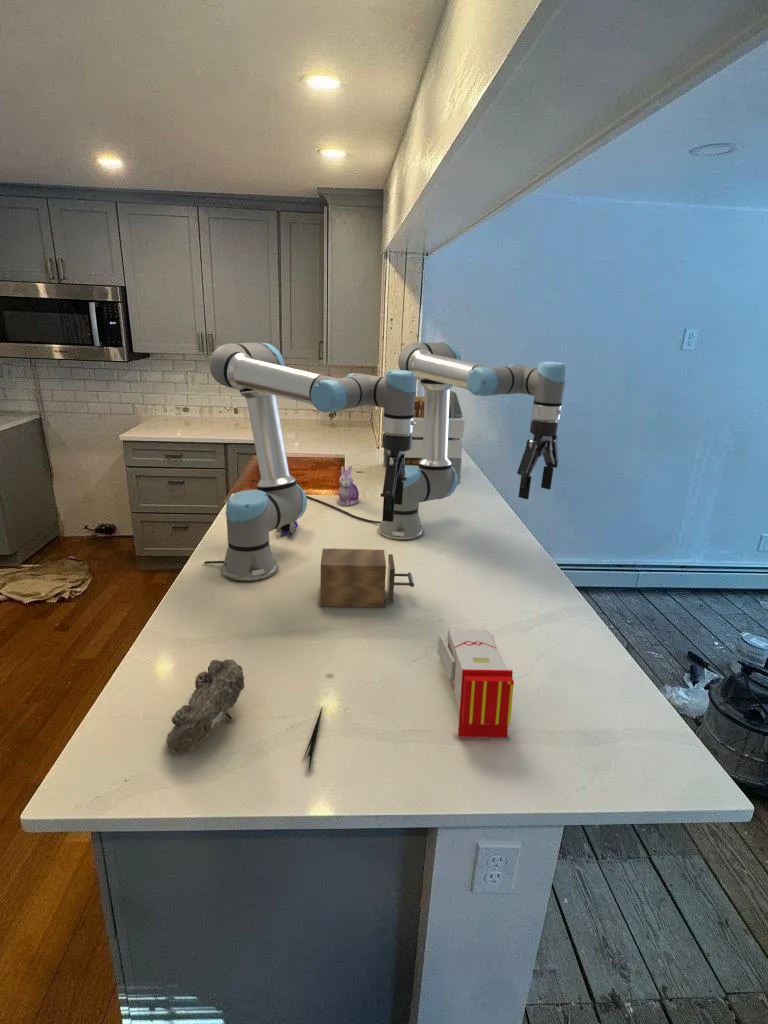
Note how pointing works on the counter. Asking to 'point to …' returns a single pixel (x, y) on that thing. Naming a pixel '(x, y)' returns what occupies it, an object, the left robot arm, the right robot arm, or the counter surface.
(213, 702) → the fossil
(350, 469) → the figurine
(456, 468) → the grey box
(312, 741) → the feather
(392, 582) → the drawer
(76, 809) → the counter surface
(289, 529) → the figurine character
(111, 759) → the counter surface
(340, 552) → the cabinet
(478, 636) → the toy
